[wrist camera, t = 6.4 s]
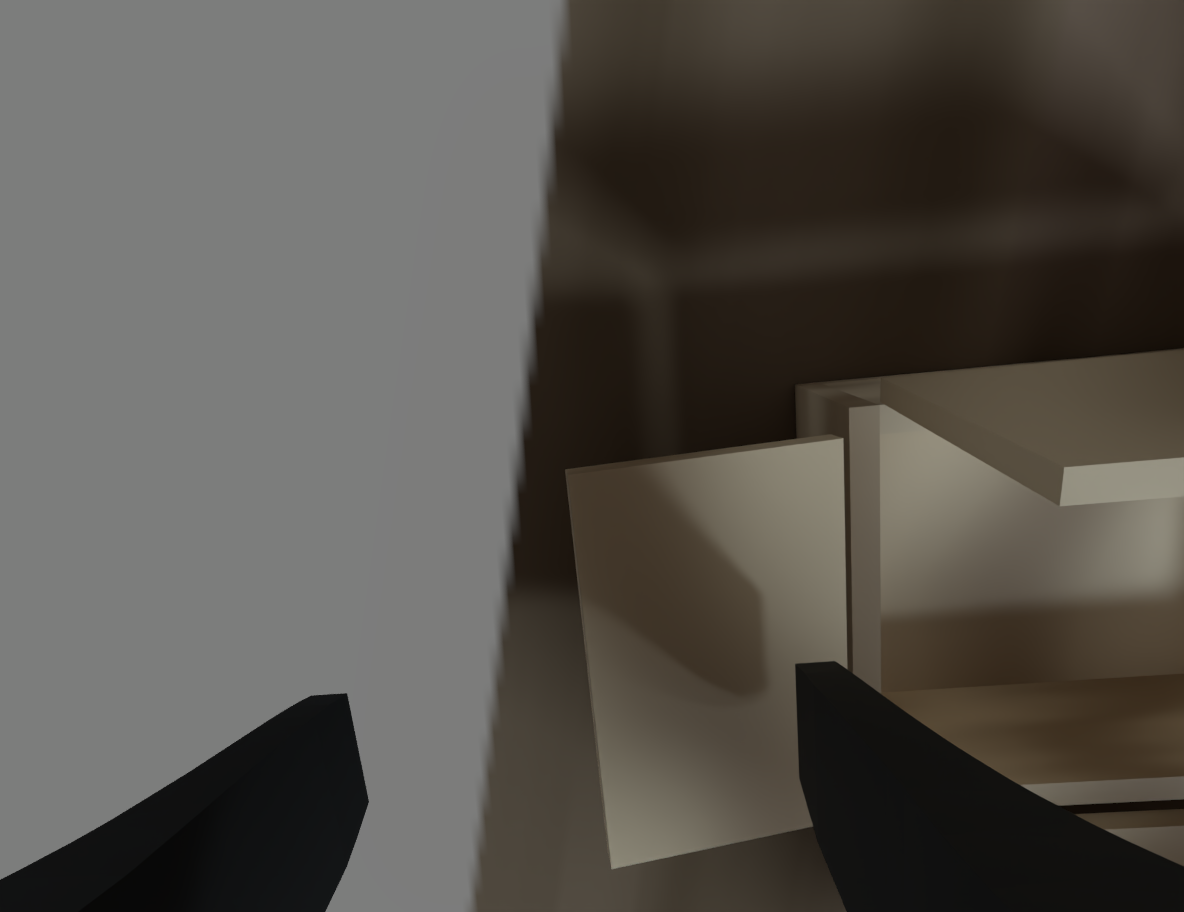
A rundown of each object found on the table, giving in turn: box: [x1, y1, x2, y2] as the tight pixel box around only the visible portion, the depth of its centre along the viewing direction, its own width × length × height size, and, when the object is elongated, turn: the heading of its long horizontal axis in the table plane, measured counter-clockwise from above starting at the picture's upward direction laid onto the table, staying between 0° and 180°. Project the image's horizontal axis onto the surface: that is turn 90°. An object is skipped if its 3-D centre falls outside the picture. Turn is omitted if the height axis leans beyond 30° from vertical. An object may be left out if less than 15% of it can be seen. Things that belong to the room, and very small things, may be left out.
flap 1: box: [565, 434, 847, 869], centre depth 11 cm, size 4×7×1 cm, turn 6°
